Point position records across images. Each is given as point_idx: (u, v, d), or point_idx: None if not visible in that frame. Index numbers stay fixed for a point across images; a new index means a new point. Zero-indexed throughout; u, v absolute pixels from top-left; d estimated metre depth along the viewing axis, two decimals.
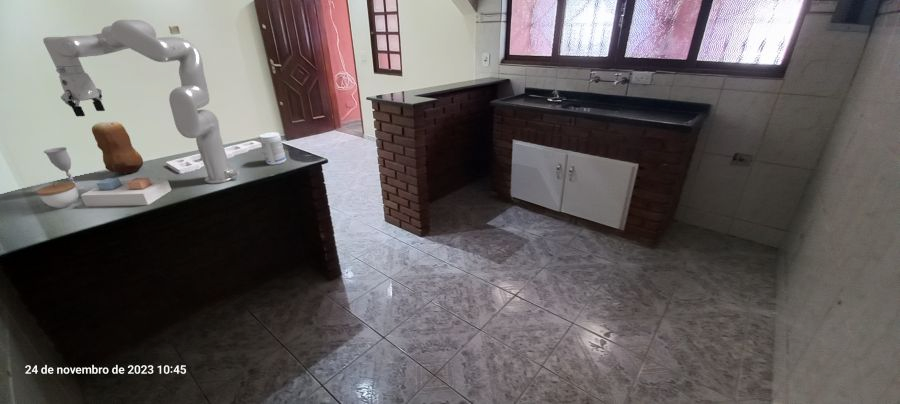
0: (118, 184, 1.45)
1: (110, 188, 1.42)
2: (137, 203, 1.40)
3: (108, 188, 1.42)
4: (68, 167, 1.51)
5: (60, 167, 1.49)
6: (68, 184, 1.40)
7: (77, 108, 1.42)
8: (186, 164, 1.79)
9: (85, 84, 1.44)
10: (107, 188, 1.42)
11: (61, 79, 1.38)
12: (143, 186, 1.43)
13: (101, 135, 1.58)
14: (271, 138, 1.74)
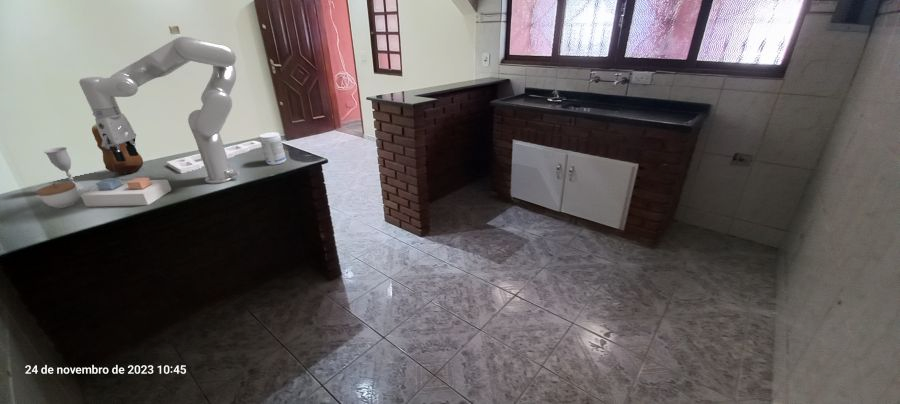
0: (118, 184, 1.45)
1: (110, 188, 1.42)
2: (137, 203, 1.40)
3: (108, 188, 1.42)
4: (68, 167, 1.51)
5: (60, 167, 1.49)
6: (68, 184, 1.40)
7: (118, 154, 1.34)
8: (187, 164, 1.79)
9: (122, 126, 1.33)
10: (107, 188, 1.42)
11: (97, 122, 1.28)
12: (143, 186, 1.43)
13: None
14: (271, 138, 1.74)
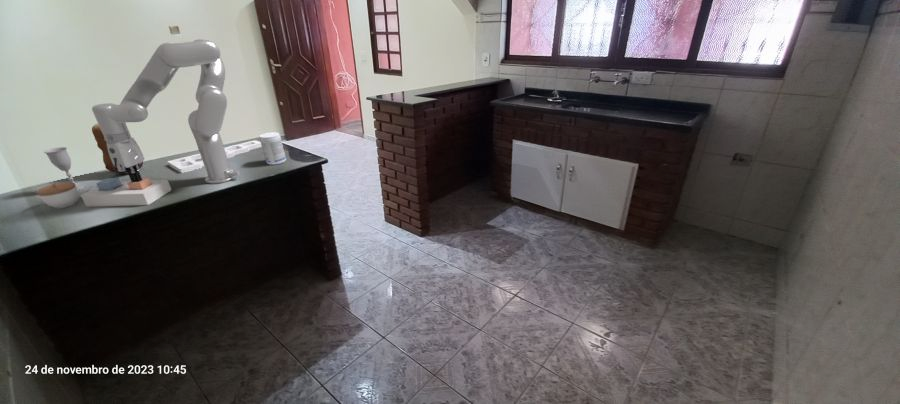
0: (118, 184, 1.45)
1: (110, 188, 1.42)
2: (137, 203, 1.40)
3: (108, 188, 1.42)
4: (68, 167, 1.51)
5: (60, 167, 1.49)
6: (68, 184, 1.40)
7: (133, 174, 1.40)
8: (187, 163, 1.79)
9: (131, 150, 1.38)
10: (107, 188, 1.42)
11: (108, 147, 1.32)
12: (143, 187, 1.43)
13: (101, 135, 1.58)
14: (271, 138, 1.74)
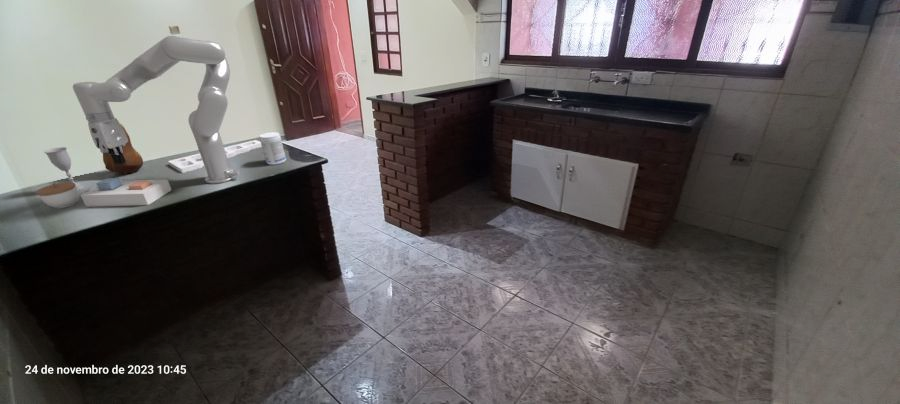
0: (118, 184, 1.45)
1: (110, 188, 1.42)
2: (137, 203, 1.40)
3: (108, 188, 1.42)
4: (68, 167, 1.51)
5: (60, 167, 1.49)
6: (68, 184, 1.40)
7: (116, 156, 1.37)
8: (188, 163, 1.80)
9: (115, 130, 1.34)
10: (107, 188, 1.42)
11: (90, 127, 1.28)
12: None
13: None
14: (271, 138, 1.74)
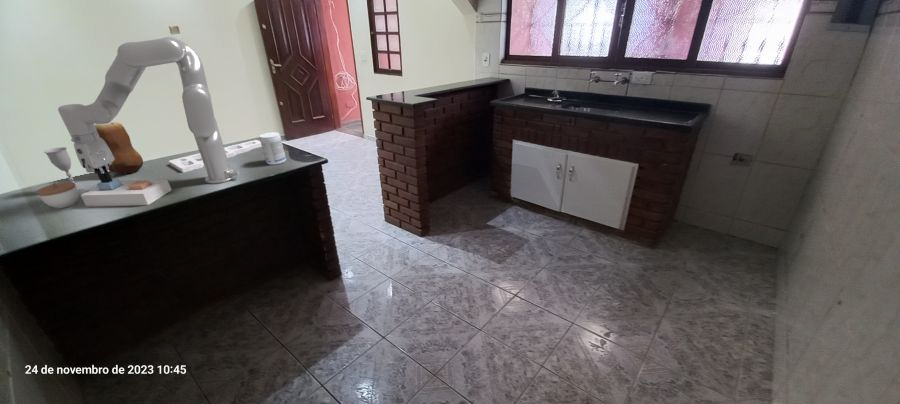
0: (119, 185, 1.45)
1: (110, 189, 1.42)
2: (137, 203, 1.40)
3: (108, 189, 1.42)
4: (68, 167, 1.51)
5: (60, 167, 1.49)
6: (68, 184, 1.40)
7: (102, 175, 1.40)
8: (189, 163, 1.80)
9: (100, 150, 1.37)
10: (108, 188, 1.42)
11: (76, 148, 1.32)
12: None
13: (101, 135, 1.58)
14: (271, 138, 1.74)
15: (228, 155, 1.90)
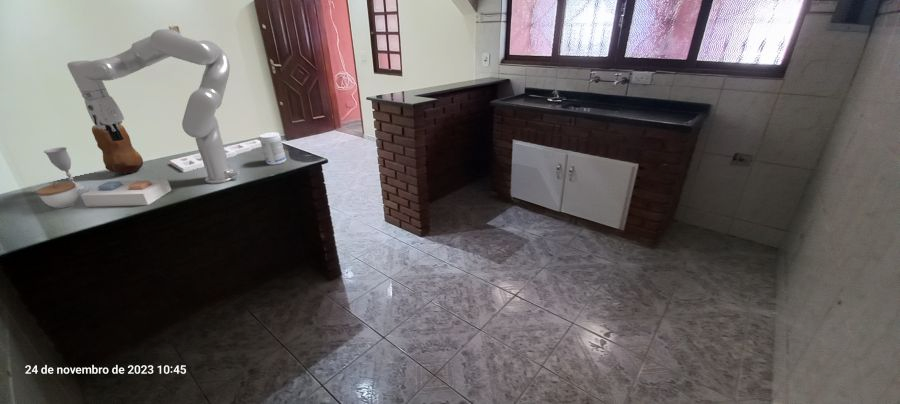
0: None
1: None
2: (137, 203, 1.40)
3: None
4: (68, 167, 1.51)
5: (60, 167, 1.49)
6: (68, 184, 1.40)
7: (114, 133, 1.43)
8: (189, 162, 1.81)
9: (110, 108, 1.40)
10: None
11: (87, 104, 1.34)
12: None
13: (101, 135, 1.58)
14: (271, 138, 1.74)
15: (229, 155, 1.90)
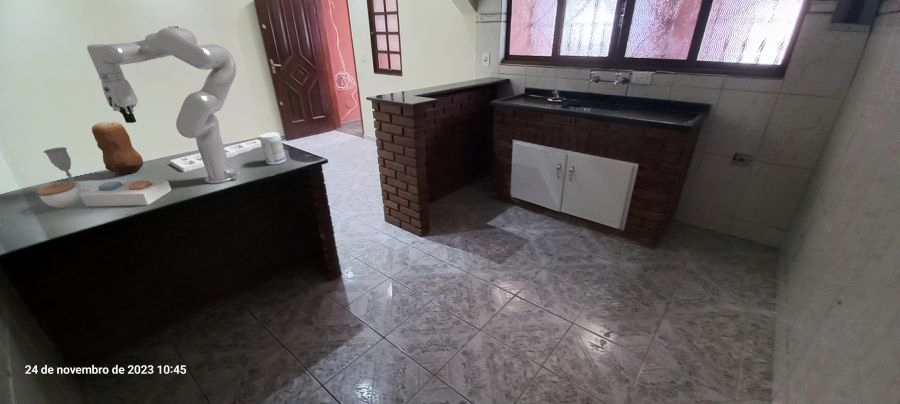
0: None
1: None
2: (137, 203, 1.40)
3: None
4: (68, 167, 1.51)
5: (60, 167, 1.49)
6: (68, 184, 1.40)
7: (127, 115, 1.48)
8: (190, 162, 1.81)
9: (125, 91, 1.46)
10: None
11: (103, 86, 1.40)
12: None
13: (101, 135, 1.58)
14: (271, 138, 1.74)
15: (229, 155, 1.90)
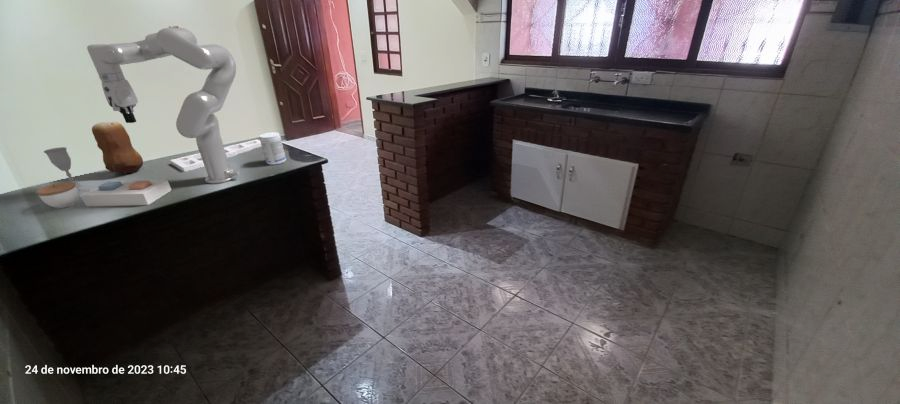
0: None
1: None
2: (137, 203, 1.40)
3: None
4: (68, 167, 1.51)
5: (60, 167, 1.49)
6: (68, 184, 1.40)
7: (127, 115, 1.48)
8: (190, 162, 1.81)
9: (125, 91, 1.46)
10: None
11: (103, 86, 1.40)
12: None
13: (101, 135, 1.58)
14: (271, 138, 1.74)
15: (229, 154, 1.91)
